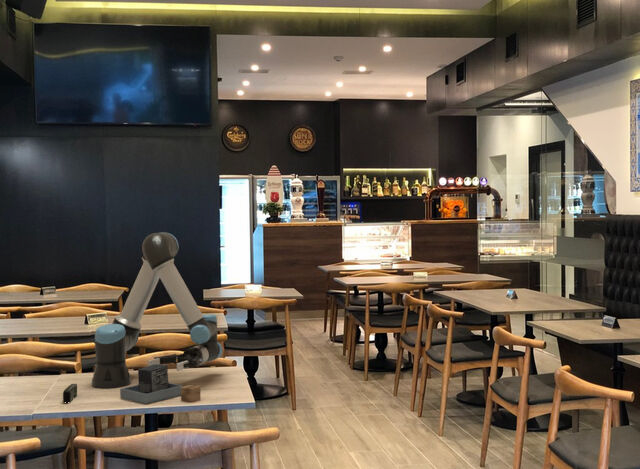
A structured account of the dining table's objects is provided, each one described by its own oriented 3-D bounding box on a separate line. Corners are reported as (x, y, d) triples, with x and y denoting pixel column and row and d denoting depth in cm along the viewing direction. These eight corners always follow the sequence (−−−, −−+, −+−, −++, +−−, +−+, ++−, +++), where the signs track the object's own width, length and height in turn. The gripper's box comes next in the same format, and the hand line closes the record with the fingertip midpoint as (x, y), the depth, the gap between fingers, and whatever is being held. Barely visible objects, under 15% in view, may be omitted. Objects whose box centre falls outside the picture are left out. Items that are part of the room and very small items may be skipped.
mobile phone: (70, 391, 277) (79, 381, 292) (61, 391, 277) (70, 381, 292) (70, 404, 278) (79, 393, 292) (62, 404, 277) (71, 394, 292)
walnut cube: (181, 401, 278) (180, 387, 278) (189, 398, 283) (189, 384, 282) (191, 402, 276) (191, 389, 276) (200, 399, 280) (200, 386, 280)
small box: (155, 390, 293) (154, 363, 292) (169, 392, 290) (168, 364, 290) (137, 396, 283) (137, 368, 283) (152, 398, 280) (151, 370, 280)
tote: (120, 398, 284) (120, 388, 284) (157, 389, 297) (157, 380, 297) (146, 404, 274) (146, 394, 274) (183, 395, 287) (183, 385, 287)
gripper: (221, 367, 305) (190, 378, 286) (170, 363, 316) (137, 373, 297) (220, 348, 305) (189, 358, 286) (169, 345, 316) (136, 354, 297)
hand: (162, 366), depth 291 cm, fingers open, 13 cm apart
